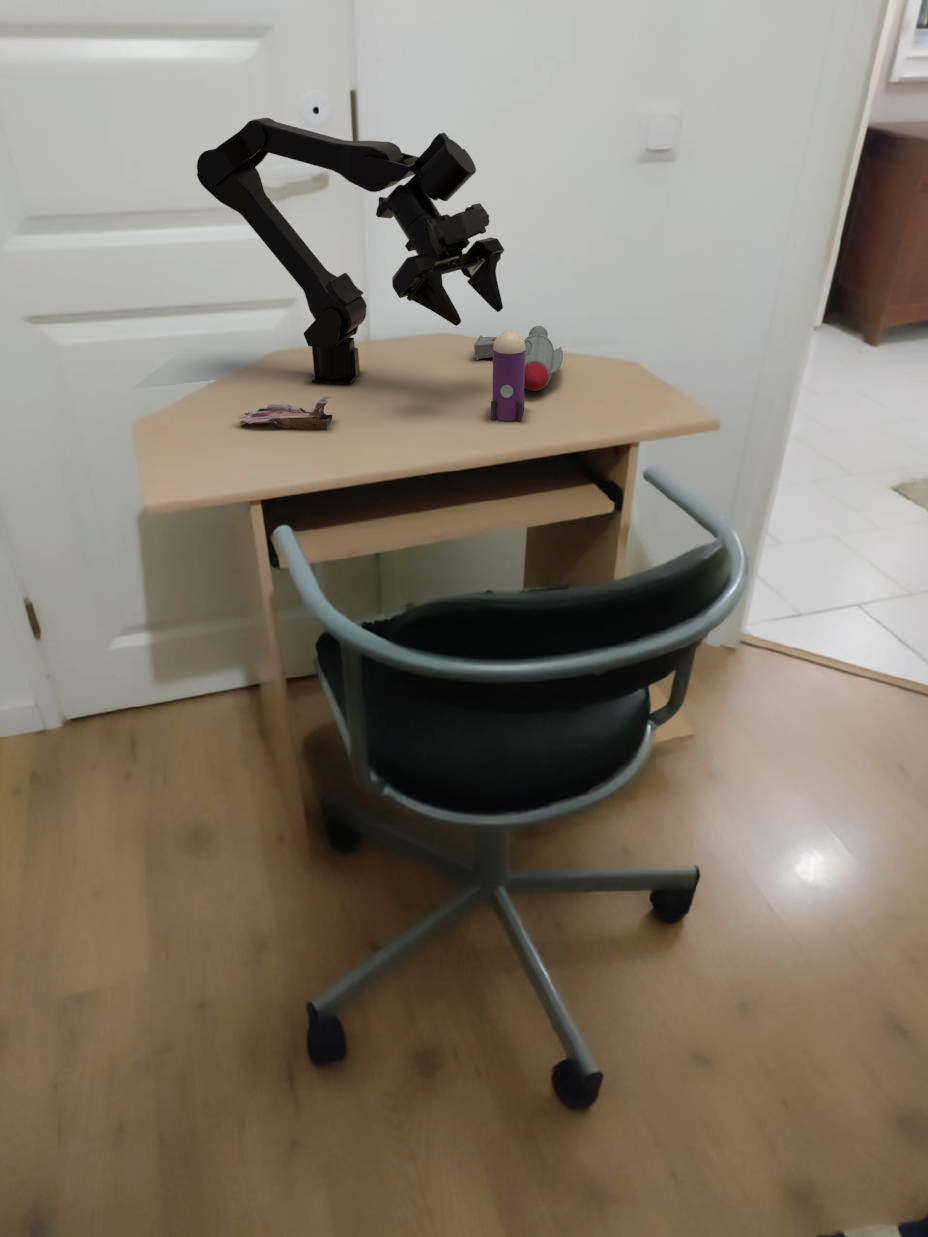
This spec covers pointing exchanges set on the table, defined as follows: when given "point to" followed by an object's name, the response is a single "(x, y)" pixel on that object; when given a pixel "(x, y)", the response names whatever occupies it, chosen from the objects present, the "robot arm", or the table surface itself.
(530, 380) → the toy ray gun
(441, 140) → the robot arm
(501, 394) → the toy rocket
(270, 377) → the table surface
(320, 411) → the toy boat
